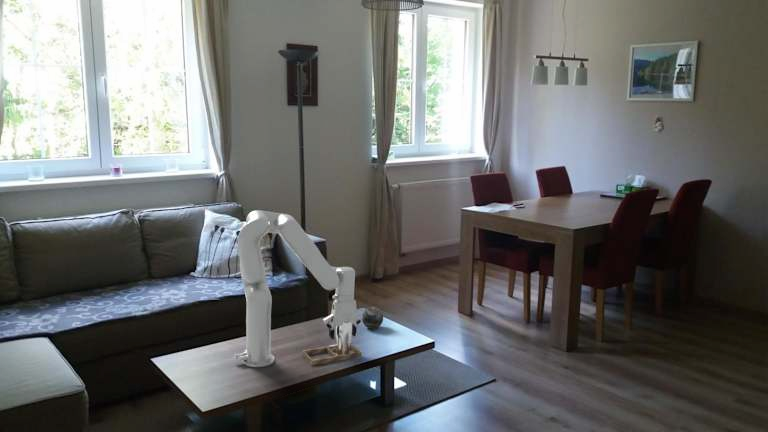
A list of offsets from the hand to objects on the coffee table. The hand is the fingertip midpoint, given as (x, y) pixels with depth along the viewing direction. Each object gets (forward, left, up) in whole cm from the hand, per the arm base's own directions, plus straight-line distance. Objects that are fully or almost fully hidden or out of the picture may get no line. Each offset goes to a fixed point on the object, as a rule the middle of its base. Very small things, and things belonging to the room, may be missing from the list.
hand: (342, 336), depth 258 cm
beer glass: (0, 0, -8) cm, 8 cm away
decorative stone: (+25, +22, -8) cm, 35 cm away
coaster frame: (-5, 0, -8) cm, 9 cm away
